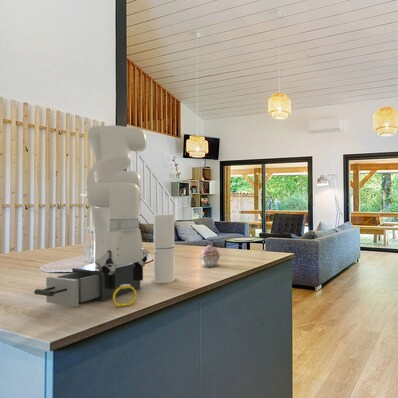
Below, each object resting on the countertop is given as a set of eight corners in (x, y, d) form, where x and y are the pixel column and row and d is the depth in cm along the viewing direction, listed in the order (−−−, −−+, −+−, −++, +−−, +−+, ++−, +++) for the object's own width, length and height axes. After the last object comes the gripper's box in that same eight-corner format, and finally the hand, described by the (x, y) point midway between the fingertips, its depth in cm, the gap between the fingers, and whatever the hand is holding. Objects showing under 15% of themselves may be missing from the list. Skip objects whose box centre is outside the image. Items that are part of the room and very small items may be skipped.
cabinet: (102, 301, 98) (101, 271, 98) (72, 297, 102) (72, 268, 102) (140, 288, 112) (140, 262, 111) (112, 285, 116) (112, 259, 116)
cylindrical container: (167, 283, 117) (166, 215, 117) (149, 282, 119) (149, 214, 118) (178, 278, 124) (178, 214, 124) (161, 278, 126) (161, 213, 125)
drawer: (56, 312, 86) (56, 285, 86) (27, 307, 89) (27, 281, 89) (116, 293, 103) (115, 270, 103) (89, 289, 107) (89, 267, 107)
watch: (113, 309, 91) (113, 288, 91) (112, 306, 93) (111, 285, 93) (137, 304, 95) (137, 284, 95) (134, 302, 97) (134, 282, 97)
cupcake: (217, 268, 143) (217, 245, 143) (196, 268, 143) (196, 245, 143) (222, 263, 152) (222, 242, 152) (203, 263, 152) (203, 242, 152)
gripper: (137, 223, 103) (138, 276, 103) (86, 227, 87) (87, 291, 87) (156, 223, 101) (157, 278, 101) (107, 228, 84) (107, 293, 84)
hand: (124, 284), depth 94 cm, fingers open, 9 cm apart
